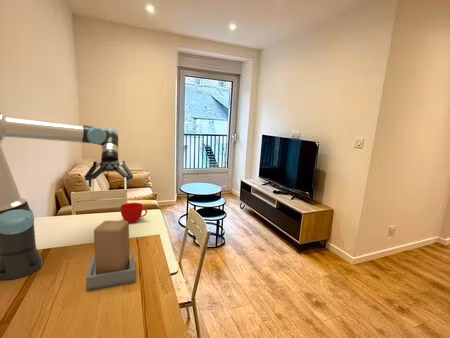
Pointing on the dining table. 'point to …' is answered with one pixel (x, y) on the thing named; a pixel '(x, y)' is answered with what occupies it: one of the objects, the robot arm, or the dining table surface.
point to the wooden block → (111, 246)
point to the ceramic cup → (132, 212)
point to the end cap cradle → (109, 276)
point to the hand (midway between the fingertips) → (109, 191)
